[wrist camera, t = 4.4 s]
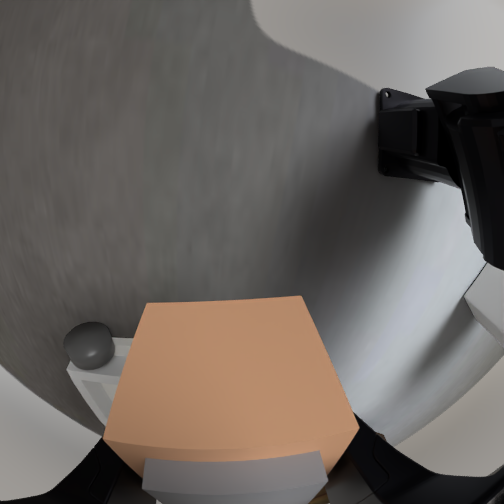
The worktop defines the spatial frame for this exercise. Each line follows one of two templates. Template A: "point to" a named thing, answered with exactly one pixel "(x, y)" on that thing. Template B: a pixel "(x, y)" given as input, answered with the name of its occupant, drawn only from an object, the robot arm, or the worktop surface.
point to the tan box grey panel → (230, 404)
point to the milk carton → (488, 301)
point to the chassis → (96, 364)
